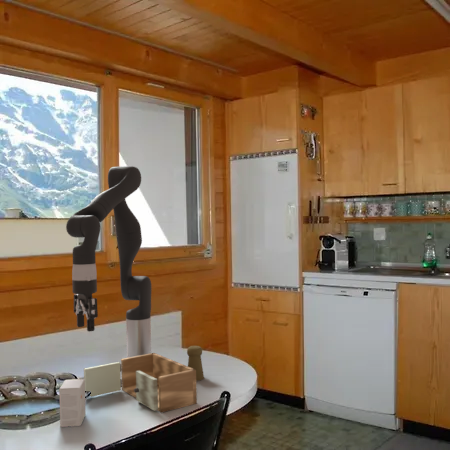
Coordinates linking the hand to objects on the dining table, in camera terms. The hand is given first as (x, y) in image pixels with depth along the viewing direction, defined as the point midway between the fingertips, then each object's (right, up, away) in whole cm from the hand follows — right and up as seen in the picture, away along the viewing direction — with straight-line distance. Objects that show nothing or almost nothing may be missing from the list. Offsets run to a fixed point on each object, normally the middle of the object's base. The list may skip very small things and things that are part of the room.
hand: (85, 328), depth 169 cm
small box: (+3, -21, -23) cm, 31 cm away
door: (+6, -20, -2) cm, 21 cm away
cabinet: (+22, -20, -5) cm, 31 cm away
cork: (+34, -20, +13) cm, 42 cm away
